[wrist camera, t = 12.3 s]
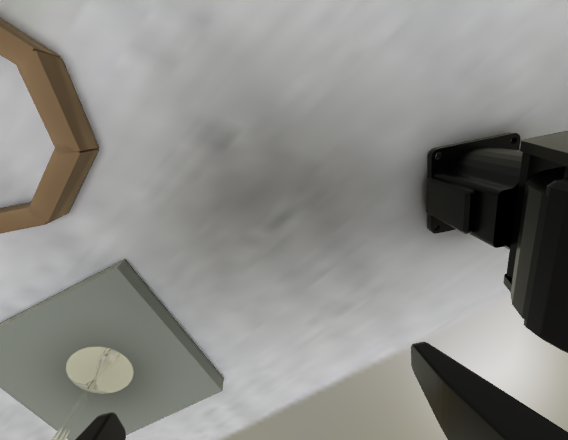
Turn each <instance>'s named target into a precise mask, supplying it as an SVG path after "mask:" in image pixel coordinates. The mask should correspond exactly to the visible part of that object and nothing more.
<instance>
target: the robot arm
mask: <svg viewBox="0 0 568 440" xmlns="http://www.w3.org/2000/svg"><path fill="white" fill-rule="evenodd" d="M511 139H512V141H511V143H510V140H511ZM519 146H520V135H519V134H517V133H507V134H502V135H497V136H493V137H488V138H483V139H478V140H473V141H468V142H463V143H458V144H453V145H448V146H443V147H438V148H434V149H432V150H431V151H430V152H429V155H428V180H427V195H426V212H427V213H428V229H429V231H431V232H432V233H440V232H445V231H450V230H454V229H457V230H459V231H461V232H463V233H465V234H468V233H469V234H471V235H473V236H475V237H477V238H478V239H480V240H482V241H484V242H486V243H488V244H490V245H491V246H493V247H496V248H498V247H502V246H504V247H506V248H508V249H510V253H509V261H508V269H507V274H505V275H504V284H505V285H506V287H507V288H508V289H509V291H510V292H511V299H512V304H513V305H514V307H515V308H516V310H517V311H518V312H519V314H520V315H521V316H522V318H524V325H525V326H526V327H527V328H528V329H530V330H531V331H532V332H533V333H535V334H536V335H537V336H539V337H540V338H542V339H543V340H545V341H546V342H548V343H550V344H552V345H554V346H555V347H557V348H559V349H560V350H562V351H565V352H567V353H568V131H564V132H559V133H554V134H549V135H544V136H539V137H534V138H529V139H524V140H522V141H521V149H520V150H519ZM436 153H438V157H437V158H436V159H435V155H436ZM435 225H437V226H436V228H434V226H435ZM411 365H412V369H413V371H414V374H415V376H416V378H417V380H418V382H419V384H420V386H421V388H422V390H423V392H424V394H425V396H426V398H427V400H428V402H429V404H430V406H431V408H432V410H433V412H434V414H435V417H436V419H437V421H438V422H439V424H440V426H441V428H442V430H443V432H444V433H445V435H446V437H447V439H448V440H568V432H567V431H565V430H563V429H562V428H560V427H558V426H557V425H555V424H554V423H552V422H551V421H549V420H548V419H546V418H545V417H543V416H541V415H540V414H538V413H537V412H535V411H534V410H532V409H530V408H529V407H527V406H526V405H524V404H523V403H521V402H519V401H518V400H516V399H515V398H513V397H512V396H510V395H508V394H507V393H505V392H504V391H502V390H501V389H499V388H497V387H496V386H494V385H493V384H491V383H490V382H488V381H486V380H485V379H483V378H481V377H480V376H479V375H477V374H475V373H474V372H472V371H471V370H469V369H467V368H466V367H464V366H463V365H461V364H460V363H458V362H456V361H455V360H453V359H452V358H450V357H449V356H447V355H446V354H444V353H442V352H441V351H439V350H438V349H436V348H435V347H433V346H431V345H430V344H428V343H426V342H420V343H415V344H412V346H411ZM125 438H126V431H125V428H124V426H123V425H122V423H121V421H120V420H119V418H118V416H117V415H116V413H114V412H110V413H106V414H102V415H99V416H98V417H96V418H95V419H94V420H93V421H92V422H91V424H90V425H89V426H88V427H87V428H86V429H85V430H84V431H83V432H82V433H81V434H80V435H79V436H78V437H77V438H76V439H75V440H125Z"/></svg>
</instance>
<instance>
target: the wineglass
mask: <svg viewBox="0 0 568 440" xmlns="http://www.w3.org/2000/svg"><path fill="white" fill-rule="evenodd" d="M66 372H67V374H68V377H69V378H70V380H71V381H72V382H73V383H74V384H75V385H77V386H78V387H80V388H81V389H84V390H85V391H84V393H83V394H82V396H81V397H80V399H79V400H78V401H77V403H76V404H75V406H74V407H73V409H72V410H71V412H70V413H69V415H68V416H67V418H66V419H65V421H64V422H63V424H62V425H61V427H60V428H59V430H58V431H57V433H56V434H55V436H54V437H53V439H52V440H65V439H66V437H67V435H68V434H69V432H70V430H71V428H72V426H73V424H74V423H75V421H76V419H77V417H78V415H79V413H80V412H81V410H82V408H83V406H84V404H85V402H86V401H87V399H88V397H89V395H90V393H91V392H92V393H100V394H105V393H113V392H116V391H119V390H122V389H123V388H125V387H126V386H128V384H129V383H130V382H131V380H132V378H133V373H134V371H133V367H132V364H131V363H130V362H129V360H128V359H127V358H126V357H125V356H124V355H122V354H121V353H120V352H117V351H115V350H112V349H110V348H105V347H87V348H84V349H81V350H78V351H77V352H75V353H74V354H73V355H71V356H70V358H69V359H68V361H67V364H66Z"/></svg>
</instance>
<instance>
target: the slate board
mask: <svg viewBox="0 0 568 440" xmlns="http://www.w3.org/2000/svg"><path fill="white" fill-rule="evenodd" d="M87 347H105V348H110V349H112V350H115V351H117V352H120V353H121V354H122V355H124V356H125V357H126V358H127V359H128V360H129V362H130V363H131V364H132V367H133V371H134V373H133V378H132V380H131V382H130V383H129V384H128V386H126V387H125V388H123V389H122V390H119V391H116V392H113V393H105V394H100V393H92V392H91V393H90V395H89V397H88V399H87V401H86V402H85V404H84V406H83V408H82V410H81V412H80V413H79V415H78V417H77V419H76V421H75V423H74V424H73V426H72V428H71V430H70V432H69V434H68V435H67V437H66V438H67V439H68V440H75V439H76V438H77V437H78V436H79V435H80V434H81V433H82V432H83V431H84V430H85V429H86V428H87V427H88V426H89V425H90V424H91V422H92V421H93V420H94V419H95V418H96V417H98V416H99V415H102V414H106V413H110V412H114V413H116V415H117V416H118V418H119V420H120V421H121V423H122V425H123V426H124V428H125V431H126V435H128V434H130V433H132V432H134V431H136V430H138V429H141V428H143V427H145V426H147V425H149V424H151V423H154V422H156V421H158V420H160V419H162V418H164V417H167V416H169V415H171V414H173V413H175V412H177V411H180V410H182V409H184V408H186V407H188V406H190V405H193V404H195V403H197V402H199V401H201V400H203V399H206V398H208V397H210V396H212V395H214V394H216V393H219V392H221V391H222V388H223V380H224V379H223V377H222V376H221V375H220V374H219V373H218V371H217V370H216V369H215V368H214V367H213V365H212V364H211V363H210V362H209V361H208V359H207V358H206V357H205V356H204V355H203V353H202V352H201V351H200V350H199V349H198V347H197V346H196V345H195V344H194V342H193V341H192V340H191V339H190V338H189V336H188V335H187V334H186V333H185V332H184V330H183V329H182V328H181V327H180V326H179V324H178V323H177V322H176V321H175V320H174V318H173V317H172V316H171V315H170V314H169V312H168V311H167V310H166V309H165V308H164V306H163V305H162V304H161V303H160V302H159V300H158V299H157V298H156V297H155V296H154V294H153V293H152V292H151V291H150V290H149V288H148V287H147V286H146V285H145V284H144V282H143V281H142V280H141V279H140V278H139V276H138V275H137V274H136V273H135V272H134V270H133V269H132V268H131V267H130V266H129V264H128V263H127V262H126V261H125V260H123V261H121V262H119V263H117V264H115V265H113V266H111V267H109V268H107V269H105V270H103V271H101V272H99V273H97V274H95V275H94V276H92V277H90V278H88V279H86V280H84V281H82V282H80V283H78V284H76V285H74V286H72V287H70V288H68V289H66V290H64V291H62V292H60V293H58V294H57V295H55V296H53V297H51V298H49V299H47V300H45V301H43V302H41V303H39V304H37V305H35V306H33V307H31V308H29V309H27V310H25V311H23V312H21V313H20V314H18V315H16V316H14V317H12V318H10V319H8V320H6V321H4V322H2V323H0V388H1V389H3V390H4V391H5V392H7V393H8V394H9V395H11V396H12V397H13V398H15V399H16V400H17V401H19V402H20V403H21V404H22V405H24V406H25V407H26V408H28V409H29V410H30V411H32V412H33V413H34V414H36V415H37V416H38V417H40V418H41V419H42V420H43V421H45V422H46V423H47V424H49V425H50V426H51V427H53V428H54V429H55V430H57V431H58V430H59V428H60V427H61V425H62V424H63V422H64V421H65V419H66V418H67V416H68V415H69V413H70V412H71V410H72V409H73V407H74V406H75V404H76V403H77V401H78V400H79V399H80V397H81V396H82V394H83V393H84V391H85V390H84V389H81V388H80V387H78V386H77V385H75V384H74V383H73V382H72V381H71V380H70V378H69V377H68V374H67V372H66V364H67V361H68V359H69V358H70V356H71V355H73V354H74V353H75V352H77V351H78V350H81V349H84V348H87Z"/></svg>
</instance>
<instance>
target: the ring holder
mask: <svg viewBox="0 0 568 440" xmlns="http://www.w3.org/2000/svg"><path fill="white" fill-rule="evenodd" d="M0 55H1V56H3V57H5V58H6V59H8V60H10V61H11V62H13V63H14V64H16V65H17V67H18V70H19V72H20V74H21V76H22V78H23V80H24V82H25V84H26V87H27V89H28V91H29V93H30V95H31V97H32V99H33V101H34V104H35V106H36V108H37V110H38V112H39V114H40V116H41V118H42V121H43V123H44V125H45V127H46V129H47V131H48V133H49V135H50V138H51V140H52V142H53V144H54V146H55V149H54V152H53V154H52V156H51V158H50V161H49V163H48V165H47V167H46V170H45V172H44V174H43V177H42V179H41V181H40V183H39V186H38V188H37V190H36V192H35V195H34V197H33V199H32V202H30V203H25V204H20V205H15V206H10V207H5V208H0V233H5V232H10V231H15V230H20V229H25V228H30V227H35V226H40V225H45V224H48V223H50V222H52V221H53V220H55V219H57V218H59V217H61V216H63V215H65V214H67V213H68V212H69V210H70V208H71V206H72V204H73V202H74V200H75V198H76V196H77V194H78V192H79V190H80V188H81V186H82V183H83V181H84V179H85V177H86V175H87V173H88V171H89V169H90V167H91V165H92V163H93V161H94V159H95V157H96V155H97V152H98V150H99V149H97V148H99V147H98V144H97V142H96V140H95V137H94V135H93V132H92V130H91V128H90V125H89V123H88V120H87V118H86V115H85V113H84V111H83V108H82V106H81V103H80V101H79V99H78V96H77V94H76V91H75V89H74V86H73V84H72V82H71V79H70V77H69V74H68V72H67V70H66V67H65V65H64V62H63V60H62V58H60V56H59V55H57V54H56V53H54V52H52V51H51V50H49V49H48V48H46V47H45V46H43V45H42V44H40V43H38V42H37V41H35V40H34V39H32V38H31V37H29V36H28V35H26V34H24V33H23V32H21V31H20V30H18V29H17V28H15V27H13V26H12V25H10V24H9V23H7V22H6V21H4V20H3V19H1V18H0Z"/></svg>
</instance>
